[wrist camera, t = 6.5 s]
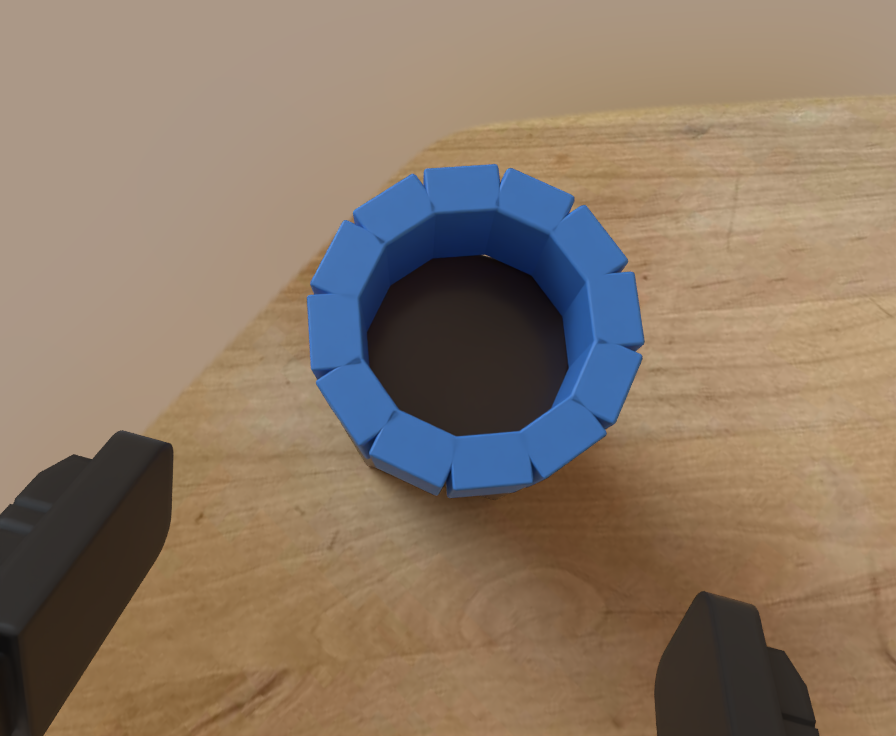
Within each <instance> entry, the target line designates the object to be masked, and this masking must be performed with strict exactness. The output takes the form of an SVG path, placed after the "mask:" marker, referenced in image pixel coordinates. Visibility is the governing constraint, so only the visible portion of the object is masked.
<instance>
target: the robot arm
mask: <svg viewBox="0 0 896 736" xmlns="http://www.w3.org/2000/svg"><path fill="white" fill-rule="evenodd" d="M172 482H173V447H172V445H171V444H170V443H167V442H163V441H159V440H156V439H152V438H148V437H145V436H141V435H138V434H134V433H130V432H127V431H123V430H122V431H118V432H117V433H115V434H114V435H113V436H112V437H111V438H110V439H109V440H108V442H107V443H106V444H105V445H104V446H103V447H102V449H101V450H100V451H99V452H98V453H97V454H96V456H95V457H94V458H93V459H89V458H85V457H82V456H78V455H74V454H73V455H71V456H69V457H68V458H66V459H64V460H62V461H60V462H58V463H57V464H55V465H53V466H51V467H49V468H47V469H46V470H44V471H42V472H40V473H39V474H38V475H37V476H36V477H35V478H34V479H33V480H32V481H31V482H30V483H29V484H28V485H27V487H25V489H24V490H23V491H22V492H21V493H20V494H19V495H18V496H17V497H16V498H15V502H14V504H13V505H12V504H10V505H9V506H8V507H7V508H6V509H5V510H4V511H3V512H2V513H1V514H0V736H43V735H44V734H45V732H46V731H47V729H48V727H49V726H50V724H51V723H52V721H53V720H54V718H55V717H56V715H57V713H58V712H59V710H60V709H61V707H62V706H63V704H64V703H65V701H66V699H67V698H68V696H69V695H70V693H71V692H72V690H73V688H74V687H75V685H76V684H77V682H78V681H79V679H80V678H81V676H82V674H83V673H84V671H85V670H86V668H87V667H88V665H89V664H90V662H91V660H92V659H93V657H94V656H95V654H96V653H97V651H98V650H99V648H100V646H101V645H102V643H103V642H104V640H105V639H106V637H107V635H108V634H109V632H110V631H111V629H112V628H113V626H114V625H115V623H116V621H117V620H118V618H119V617H120V615H121V614H122V612H123V611H124V609H125V607H126V606H127V604H128V603H129V601H130V600H131V598H132V596H133V595H134V593H135V592H136V590H137V589H138V587H139V586H140V584H141V582H142V581H143V579H144V578H145V576H146V575H147V573H148V572H149V570H150V568H151V567H152V565H153V564H154V562H155V561H156V559H157V557H158V556H159V554H160V552H161V550H162V548H163V545H164V543H165V540H166V537H167V534H168V531H169V527H170V522H171V510H172ZM654 697H655V712H656V726H657V736H819V732H818V729H816V728H815V723H816V720H815V716H814V713H813V709H812V705H811V701H810V697H809V694H808V690H807V686H806V684H805V683H804V681H803V680H802V678H801V677H800V675H799V673H798V672H797V670H796V669H795V667H794V666H793V664H792V663H791V661H790V659H789V658H788V656H787V655H786V653H785V652H784V651H782V650H778V649H774V648H771V647H767V646H766V642H765V638H764V633H763V629H762V624H761V620H760V616H759V612H758V610H757V608H756V607H755V606H754V605H752V604H749V603H745V602H741V601H738V600H734V599H730V598H727V597H723V596H719V595H716V594H712V593H708V592H705V591H702V592H700V593H699V594H698V595H697V596H696V597H695V599H694V600H693V602H692V604H691V605H690V607H689V609H688V611H687V612H686V614H685V616H684V618H683V619H682V621H681V623H680V625H679V626H678V628H677V630H676V632H675V633H674V635H673V637H672V639H671V640H670V642H669V644H668V646H667V647H666V649H665V651H664V653H663V655H662V657H661V660H660V662H659V666H658V670H657V674H656V680H655V691H654Z"/></svg>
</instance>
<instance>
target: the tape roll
mask: <svg viewBox="0 0 896 736" xmlns="http://www.w3.org/2000/svg"><path fill="white" fill-rule="evenodd" d="M573 203H574V196H573V195H571V194H569V193H566V192H564V191H562V190H560V189H557V188H555V187H553V186H551V185H548V184H546V183H544V182H542V181H539V180H537V179H535V178H533V177H530V176H528V175H526V174H524V173H522V172H519V171H517V170H515V169H513V168H509V169H508V170H506V172H505V174H504V176H503V178H502V180H501V182H500V177H499V168H498V166H497V165H496V164H492V165H476V166H461V167H445V168H429V169H425V170H424V184H422V183H421V182H420V180H419V179H418V178H417V176H416V175H414V174H411V175H409V176H408V177H406V178H404V179H403V180H401V181H400V182H398V183H396V184H395V185H393V186H392V187H390V188H388V189H387V190H385V191H384V192H382V193H381V194H379V195H377V196H376V197H374V198H373V199H371V200H369V201H368V202H366V203H365V204H363V205H361V206H360V207H358V208H357V209H355V210H354V211H353V216H354V222H355V224H354V223H351V222H349V221H347V220H344V221H343V222H342V224H341V226H340V228H339V229H338V231H337V233H336V235H335V237H334V239H333V241H332V243H331V245H330V246H329V248H328V250H327V252H326V254H325V256H324V258H323V260H322V262H321V263H320V265H319V267H318V269H317V271H316V273H315V275H314V277H313V279H312V281H311V283H310V285H311V287H312V290H313V292H314V295H309V296H308V297H307V307H308V325H309V342H310V360H311V370H312V371H313V373H314V375H315V377H316V378H317V381H316V385H317V386H318V388H319V389H320V391H321V393H322V394H323V396H324V398H325V399H326V401H327V402H328V404H329V406H330V407H331V409H332V410H333V412H334V413H335V415H336V416H337V417H338V419H339V420H340V422H341V423H342V425H343V426H344V428H345V429H346V431H347V432H348V434H349V435H350V437H351V438H352V439H353V441H354V442H355V444H356V445H357V447H358V448H359V450H360V451H361V453H362V454H363V456H364V457H365V458H366V459H370V458H371V459H372V461H373V463H374V465H375V467H376V468H378V469H380V470H382V471H384V472H386V473H388V474H391V475H393V476H395V477H397V478H399V479H401V480H403V481H405V482H408V483H410V484H412V485H414V486H416V487H418V488H420V489H422V490H425V491H427V492H429V493H431V494H433V495H435V496H437V495H438V494H439V493H440V491H441V489H442V488H443V486H444V484H445V481H446V490H447V497H448V498H457V497H468V496H479V495H490V494H501V493H512V492H516V491H518V490H520V489H522V488H524V487H526V488H527V487H529V486H532V485H534V484H536V483H538V482H540V481H542V480H545V479H547V478H548V477H549V476H551V475H552V474H554V473H555V472H556V471H558V470H559V469H561V468H562V467H563V466H565V465H566V464H567V463H569V462H570V461H572V460H573V459H574V458H576V457H577V456H578V455H580V454H581V453H583V452H584V451H585V450H587V449H588V448H590V447H591V446H592V445H594V444H595V443H596V442H598V441H599V440H601V439H602V438H603V437H605V436H606V434H607V433H606V431H605V429H607V428H608V427H610V426H612V425H613V424H615V423H616V421H617V419H618V416H619V414H620V411H621V409H622V407H623V404H624V402H625V400H626V397H627V395H628V392H629V390H630V388H631V385H632V383H633V380H634V378H635V376H636V373H637V371H638V368H639V366H640V364H641V361H642V355H641V354H639V353H637V352H635V351H637V350H638V349H639V348H640V347H641V346H642V345H644V342H645V341H644V334H643V327H642V321H641V314H640V307H639V300H638V293H637V286H636V279H635V274H634V272H621V271H622V270H623V269H624V267H625V266H626V265H627V263H628V259H627V258H626V256H625V255H624V254H623V252H622V251H621V250H620V249H619V247H618V246H617V245H616V243H615V242H614V241H613V240H612V238H611V237H610V236H609V234H608V233H607V232H606V231H605V229H604V228H603V227H602V225H601V224H600V223H599V222H598V220H597V219H596V218H595V216H594V215H593V214H592V212H591V211H590V210H589V209H588V207H587V206H585V205H582V206H580V207H578V208H577V209H575V210H574V211H572V212H571V213H569V212H570V210H571V207H572V205H573ZM473 255H487V256H490V257H492V258H494V259H496V260H498V261H501V262H503V263H505V264H507V265H509V266H512V267H514V268H516V269H518V270H520V271H523V272H525V273H527V274H529V275H531V276H532V277H533V278H534V280H535V281H536V282H537V284H538V285H539V286H540V288H541V289H542V290H543V291H544V293H545V294H546V295H547V297H548V298H549V299H550V301H551V302H552V303H553V305H554V306H555V307H556V309H557V310H558V311H559V313H560V314H561V315H562V318H563V326H564V334H565V342H566V350H567V358H568V366H569V369H568V371H567V373H566V376H565V378H564V380H563V382H562V385H561V387H560V389H559V391H558V394H557V396H556V398H555V401H554V403H553V405H552V407H551V409H550V410H549V411H547V412H546V413H544V414H543V415H541V416H540V417H539V418H537V419H536V420H534V421H533V422H532V423H530V424H529V425H527V426H526V427H525V428H523V429H522V430H520V431H515V432H503V433H491V434H480V435H468V436H455V435H452V434H450V433H448V432H446V431H444V430H442V429H439V428H437V427H435V426H433V425H431V424H429V423H427V422H424V421H422V420H420V419H418V418H416V417H414V416H412V415H409V414H407V413H405V412H403V411H401V410H399V409H398V407H397V406H396V404H395V403H394V401H393V400H392V399H391V397H390V396H389V394H388V393H387V391H386V390H385V389H384V387H383V386H382V384H381V383H380V381H379V380H378V379H377V377H376V376H375V374H374V373H373V371H372V370H371V368H370V367H369V354H368V341H367V331H368V329H369V327H370V325H371V323H372V321H373V319H374V317H375V315H376V313H377V311H378V309H379V307H380V305H381V303H382V301H383V299H384V297H385V295H386V293H387V291H388V289H389V287H390V286H391V285H392V284H394V283H395V282H397V281H399V280H400V279H402V278H403V277H405V276H406V275H408V274H409V273H411V272H412V271H414V270H415V269H417V268H418V267H420V266H422V265H423V264H425V263H426V262H428V261H429V260H431V259H432V258H445V257H459V256H473Z"/></svg>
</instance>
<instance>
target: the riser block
mask: <svg viewBox="0 0 896 736" xmlns="http://www.w3.org/2000/svg"><path fill="white" fill-rule="evenodd" d="M367 341H368V354H369V367H370V368H371V370H372V371H373V373H374V374H375V376H376V377H377V379H378V380H379V381H380V383H381V384H382V386H383V387H384V389H385V390H386V391H387V393H388V394H389V396H390V397H391V399H392V400H393V401H394V403H395V404H396V406H397V407H398V409H399V410H401V411H403V412H405V413H407V414H409V415H412V416H414V417H416V418H418V419H420V420H422V421H424V422H427V423H429V424H431V425H433V426H435V427H437V428H439V429H442V430H444V431H446V432H448V433H450V434H452V435H455V436H468V435H480V434H491V433H503V432H515V431H520V430H522V429H523V428H525V427H526V426H527V425H529V424H530V423H532V422H533V421H534V420H536V419H537V418H539V417H540V416H541V415H543V414H544V413H546V412H547V411H549V410H550V409H551V407H552V405H553V403H554V401H555V398H556V396H557V394H558V391H559V389H560V387H561V385H562V382H563V380H564V378H565V376H566V373H567V371H568V369H569V366H568V358H567V350H566V342H565V334H564V326H563V318H562V315H561V314H560V313H559V311H558V310H557V309H556V307H555V306H554V305H553V303H552V302H551V301H550V299H549V298H548V297H547V295H546V294H545V293H544V291H543V290H542V289H541V288H540V286H539V285H538V284H537V282H536V281H535V280H534V278H533V277H532V276H531V275H529V274H527V273H525V272H523V271H520V270H518V269H516V268H514V267H512V266H509V265H507V264H505V263H503V262H501V261H498V260H496V259H494V258H491V257H487V256H483V255H473V256H459V257H445V258H432V259H431V260H429V261H428V262H426V263H425V264H423V265H422V266H420V267H418V268H417V269H415V270H414V271H412V272H411V273H409V274H408V275H406V276H405V277H403V278H402V279H400V280H399V281H397V282H395V283H394V284H392V285H391V286H390V287H389V289H388V291H387V293H386V295H385V297H384V299H383V301H382V303H381V305H380V307H379V309H378V311H377V313H376V315H375V317H374V319H373V321H372V323H371V325H370V327H369V329H368V331H367ZM341 424H342V423H341ZM342 426H343V425H342ZM343 427H344V426H343ZM344 429H345V428H344ZM345 431H346V429H345ZM346 432H347V431H346ZM347 434H348V432H347ZM348 436H349V437H350V435H349V434H348ZM350 439H351V441H352V442H353V444H354V446H355V447H356V449H357V450H358V452H359V454H360V455H361V457H362V459H363V460H364V462H365V464H366V465H367V466H371V467H375V465H374V463H373V461H372V459H371V458H370V459H366V458H365V457H364V456H363V454H362V453H361V451H360V450H359V448H358V447H357V445H356V444H355V442H354V441H353V439H352V438H351V437H350ZM375 468H376V467H375ZM444 486H445V487H446V481H445V484H444ZM507 494H509V493H501V494H490V495H479V496H482V497H486V498H489V499H493V500H496V499H498V498H500V497H503V496H505V495H507Z"/></svg>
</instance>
